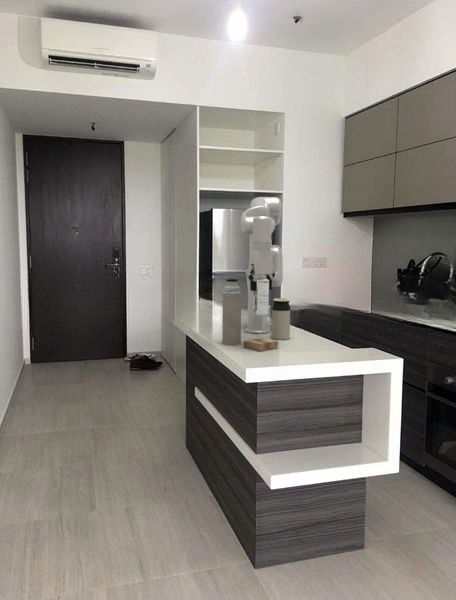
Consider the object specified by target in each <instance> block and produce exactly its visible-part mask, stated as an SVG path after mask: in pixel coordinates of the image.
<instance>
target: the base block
mask: <svg viewBox="0 0 456 600" xmlns="http://www.w3.org/2000/svg"><path fill="white" fill-rule="evenodd" d="M278 341H279V340H274V339H273V340H272V339H269V338H263V337H258V338H252V339H245V340H243V346H242V347H243V348H244V349H247V350H251V351H254V352H255V351H256V352H259V353H261V352H266V351H273V350H278V344H279V342H278Z"/></svg>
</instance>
